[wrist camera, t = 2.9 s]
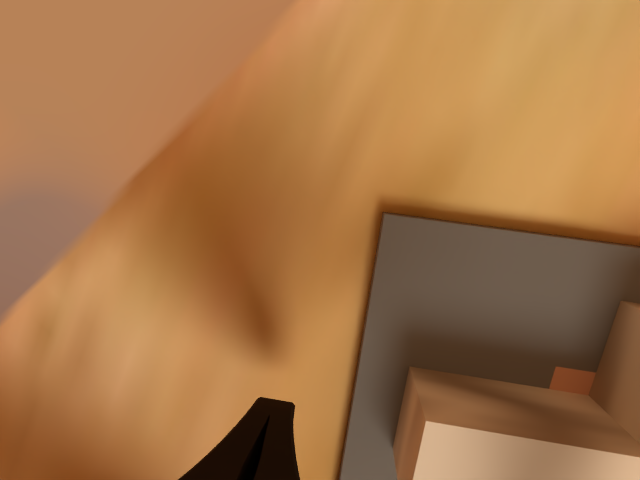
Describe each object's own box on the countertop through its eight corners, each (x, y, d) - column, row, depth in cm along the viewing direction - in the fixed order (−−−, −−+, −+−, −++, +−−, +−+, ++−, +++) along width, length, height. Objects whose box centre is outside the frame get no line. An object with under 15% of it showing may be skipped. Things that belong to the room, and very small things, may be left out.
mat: (329, 532, 16) (329, 546, 16) (383, 211, 13) (384, 214, 12) (787, 621, 15) (805, 640, 14) (982, 292, 12) (1016, 298, 11)
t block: (377, 521, 15) (384, 605, 12) (428, 272, 13) (452, 304, 10) (628, 569, 14) (699, 670, 12) (736, 317, 12) (862, 365, 9)
